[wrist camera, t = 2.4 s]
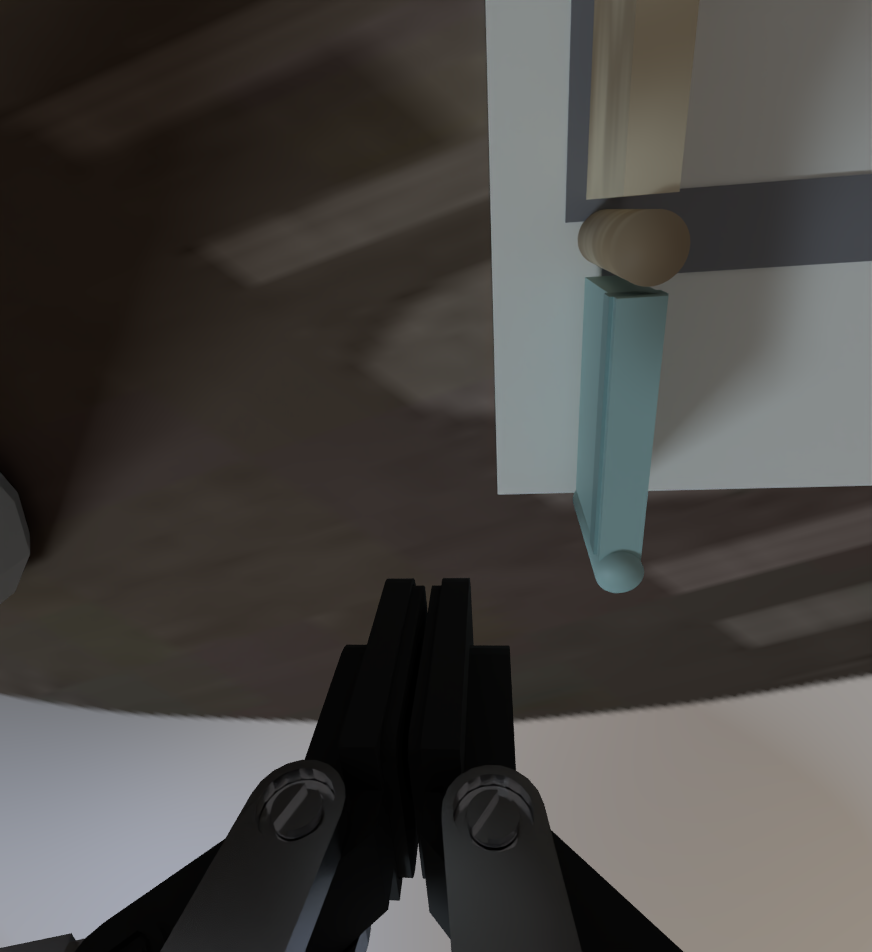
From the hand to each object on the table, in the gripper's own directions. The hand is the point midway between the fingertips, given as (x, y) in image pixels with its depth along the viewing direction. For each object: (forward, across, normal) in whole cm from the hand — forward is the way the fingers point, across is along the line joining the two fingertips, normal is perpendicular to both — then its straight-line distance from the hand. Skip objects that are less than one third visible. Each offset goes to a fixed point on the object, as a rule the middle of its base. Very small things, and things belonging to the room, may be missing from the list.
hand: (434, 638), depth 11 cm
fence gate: (+10, -5, -2) cm, 11 cm away
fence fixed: (+11, -5, -11) cm, 16 cm away
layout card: (+11, -9, -6) cm, 15 cm away
